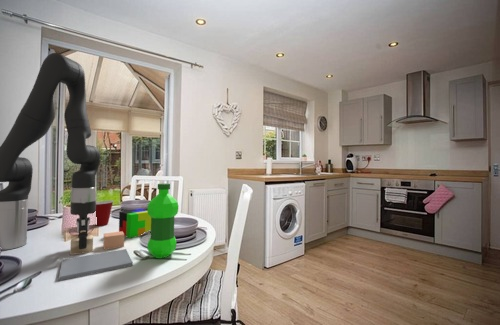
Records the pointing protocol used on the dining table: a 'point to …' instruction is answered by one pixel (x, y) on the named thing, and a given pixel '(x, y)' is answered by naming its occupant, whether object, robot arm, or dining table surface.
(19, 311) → the dining table surface
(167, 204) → the plastic bottle
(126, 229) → the puzzle toy
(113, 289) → the dining table surface
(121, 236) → the terracotta block
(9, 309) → the dining table surface
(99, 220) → the plastic cup
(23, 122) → the robot arm
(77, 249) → the beech block
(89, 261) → the baseplate
